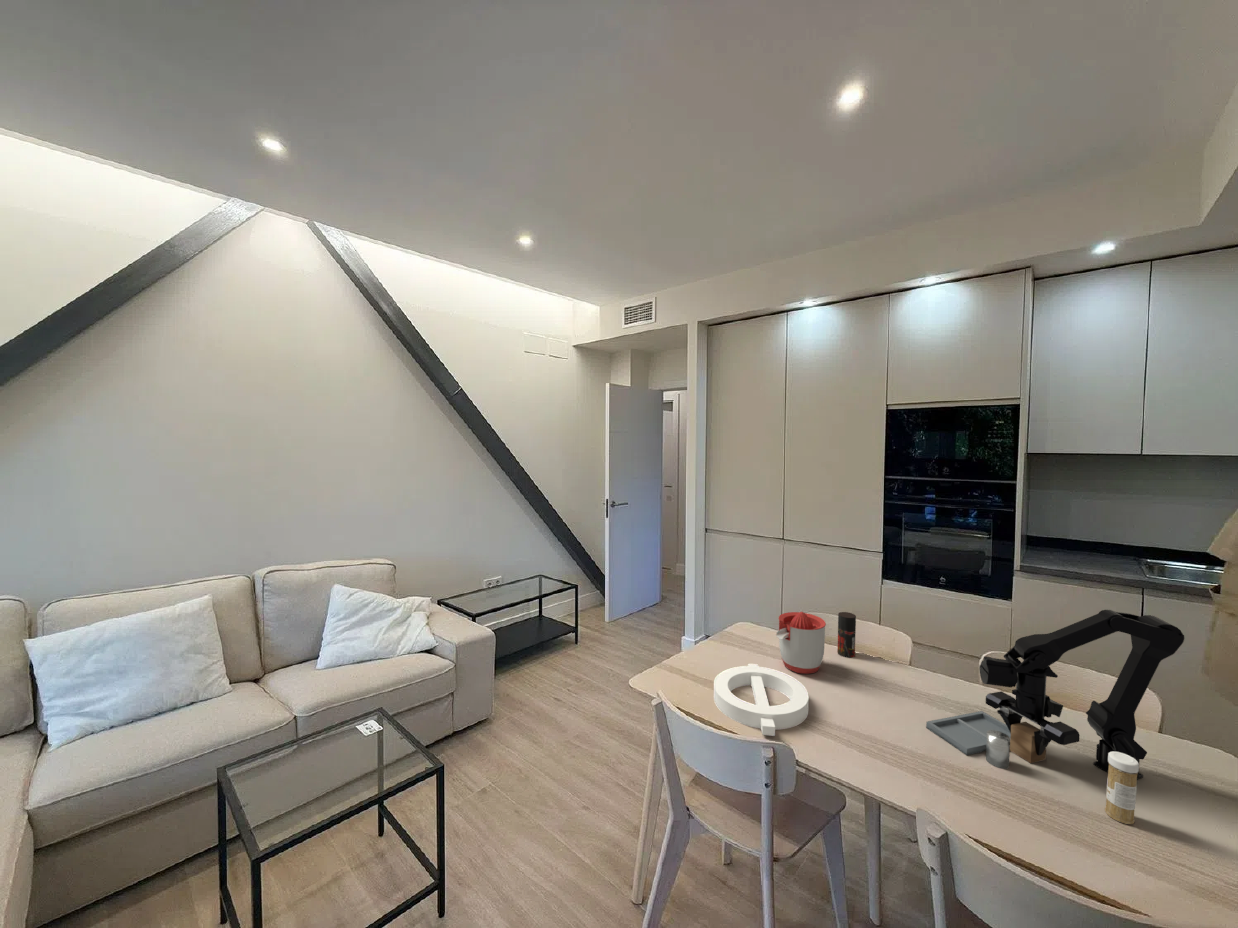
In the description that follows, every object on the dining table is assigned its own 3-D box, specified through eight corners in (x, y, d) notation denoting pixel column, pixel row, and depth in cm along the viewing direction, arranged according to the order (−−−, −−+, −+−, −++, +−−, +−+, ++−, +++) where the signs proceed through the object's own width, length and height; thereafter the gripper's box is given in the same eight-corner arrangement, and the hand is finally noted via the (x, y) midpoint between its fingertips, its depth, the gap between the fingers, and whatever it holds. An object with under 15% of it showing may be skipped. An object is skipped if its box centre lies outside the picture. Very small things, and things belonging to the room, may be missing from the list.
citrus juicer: (764, 660, 176) (765, 607, 174) (804, 653, 181) (805, 601, 179) (792, 681, 161) (793, 623, 159) (835, 673, 166) (836, 616, 165)
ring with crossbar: (769, 743, 130) (769, 726, 129) (695, 697, 152) (695, 683, 152) (827, 707, 146) (827, 692, 146) (752, 671, 169) (752, 658, 168)
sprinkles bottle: (1104, 805, 107) (1107, 747, 106) (1134, 816, 104) (1138, 756, 103) (1105, 817, 104) (1108, 757, 103) (1136, 829, 100) (1140, 767, 100)
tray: (1025, 742, 129) (1025, 735, 128) (966, 755, 124) (966, 748, 124) (981, 716, 140) (981, 710, 140) (926, 727, 135) (926, 721, 135)
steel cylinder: (1013, 766, 119) (1015, 739, 119) (999, 770, 118) (1000, 742, 118) (995, 754, 124) (996, 728, 123) (981, 757, 123) (982, 731, 122)
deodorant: (839, 648, 184) (840, 610, 183) (856, 653, 181) (857, 614, 180) (835, 654, 180) (836, 615, 179) (852, 659, 176) (853, 619, 175)
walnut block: (1045, 759, 122) (1046, 733, 121) (1030, 763, 120) (1031, 736, 120) (1024, 747, 127) (1025, 721, 126) (1009, 750, 125) (1011, 724, 125)
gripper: (1097, 704, 115) (1094, 766, 116) (1016, 667, 133) (1013, 721, 134) (1063, 711, 113) (1060, 775, 114) (985, 673, 131) (982, 728, 132)
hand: (1027, 748), depth 123 cm, fingers closed on walnut block, 5 cm apart
